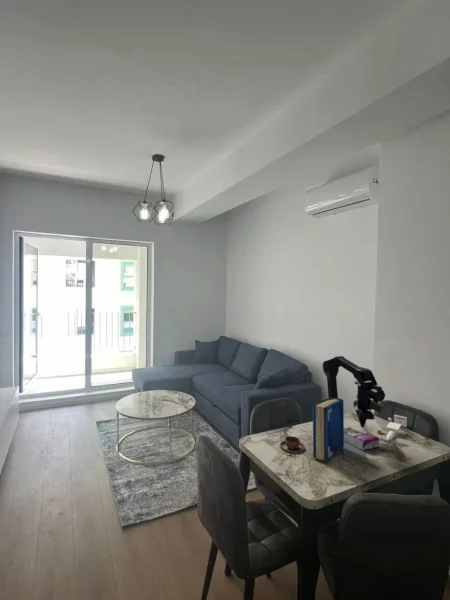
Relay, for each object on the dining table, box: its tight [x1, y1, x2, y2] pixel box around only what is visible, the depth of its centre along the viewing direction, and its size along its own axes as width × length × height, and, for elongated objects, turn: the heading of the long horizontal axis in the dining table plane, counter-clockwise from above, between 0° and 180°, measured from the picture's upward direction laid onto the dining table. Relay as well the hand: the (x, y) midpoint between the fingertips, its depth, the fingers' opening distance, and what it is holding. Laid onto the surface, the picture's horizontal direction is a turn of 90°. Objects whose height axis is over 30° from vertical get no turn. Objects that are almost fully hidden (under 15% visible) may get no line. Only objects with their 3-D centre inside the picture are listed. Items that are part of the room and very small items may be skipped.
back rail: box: [391, 441, 405, 463], centre depth 159 cm, size 1×14×3 cm, turn 168°
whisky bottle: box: [376, 414, 408, 443], centre depth 186 cm, size 10×6×30 cm
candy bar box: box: [344, 426, 380, 451], centre depth 170 cm, size 11×5×16 cm
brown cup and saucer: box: [279, 436, 311, 457], centre depth 161 cm, size 18×20×6 cm
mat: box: [341, 442, 368, 459], centre depth 162 cm, size 10×14×1 cm
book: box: [312, 397, 345, 463], centre depth 159 cm, size 22×7×25 cm, turn 138°
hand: (362, 426), depth 161 cm, fingers closed
